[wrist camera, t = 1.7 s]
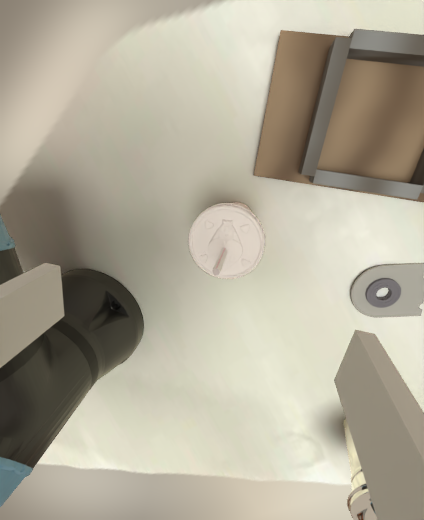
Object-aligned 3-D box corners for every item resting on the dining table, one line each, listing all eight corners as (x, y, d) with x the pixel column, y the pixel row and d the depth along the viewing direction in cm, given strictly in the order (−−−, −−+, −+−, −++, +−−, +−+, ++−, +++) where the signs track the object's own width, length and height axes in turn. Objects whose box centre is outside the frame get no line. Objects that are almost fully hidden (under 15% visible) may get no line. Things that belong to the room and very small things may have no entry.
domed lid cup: (405, 434, 38) (540, 703, 19) (344, 452, 41) (408, 696, 22) (375, 392, 36) (489, 641, 18) (313, 414, 39) (355, 643, 21)
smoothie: (207, 242, 33) (170, 299, 20) (210, 187, 30) (170, 212, 17) (261, 248, 32) (259, 312, 19) (269, 192, 29) (271, 221, 16)
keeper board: (254, 174, 29) (252, 177, 26) (280, 35, 24) (282, 17, 21) (456, 206, 27) (483, 213, 23) (528, 59, 22) (574, 43, 19)
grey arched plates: (350, 264, 31) (360, 277, 28) (453, 260, 29) (476, 273, 26) (347, 314, 33) (356, 331, 30) (442, 313, 31) (462, 331, 28)
